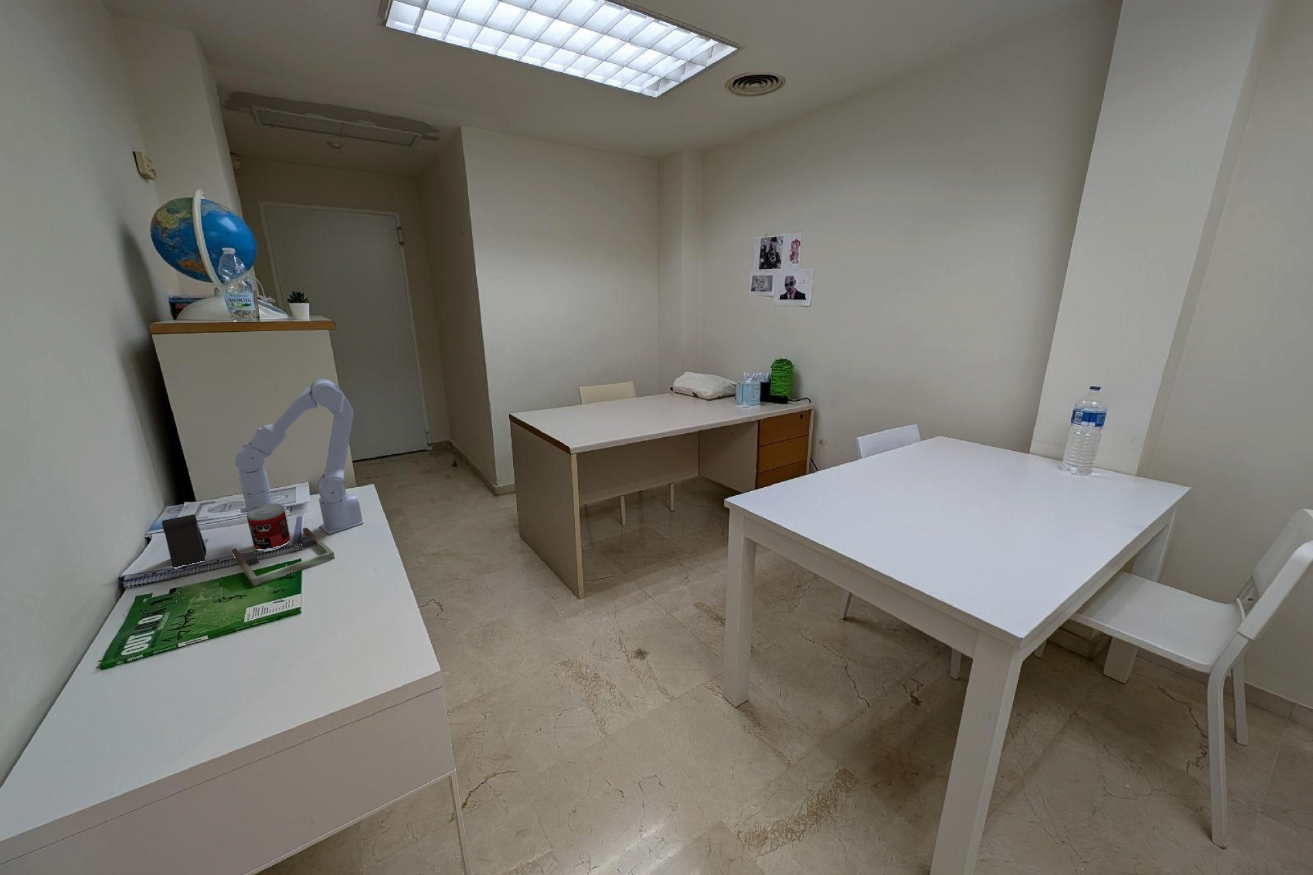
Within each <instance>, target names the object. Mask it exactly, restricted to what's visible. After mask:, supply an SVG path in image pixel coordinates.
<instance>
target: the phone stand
mask: <svg viewBox="0 0 1313 875" xmlns="http://www.w3.org/2000/svg"><path fill="white" fill-rule="evenodd" d="M161 526H162V530H163V532H164V536H165V540H166V543H167V544H166V545H167V548H168V553H169V557H170V562H171V566H172V568H173V567H178V566H182V565H189V564H192V563H197V562H200V561H205V556H206V557H207V550H206V549H207V546H206V544H205V541H204V538H203V535H202V532H201V529H200V527H199V523H198V521H197V517H196V514H193V513H192V514H188V515H184V516H178V517H174V518H168V519H164V520H162V522H161Z"/></svg>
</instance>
